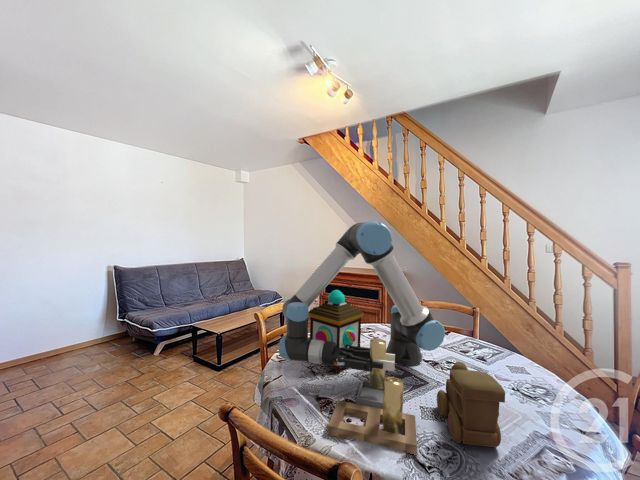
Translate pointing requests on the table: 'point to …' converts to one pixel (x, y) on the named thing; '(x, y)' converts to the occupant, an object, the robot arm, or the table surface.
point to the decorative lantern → (336, 322)
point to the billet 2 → (393, 405)
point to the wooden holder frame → (372, 427)
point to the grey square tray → (369, 395)
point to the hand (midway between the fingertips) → (394, 362)
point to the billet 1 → (379, 353)
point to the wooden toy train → (471, 406)
